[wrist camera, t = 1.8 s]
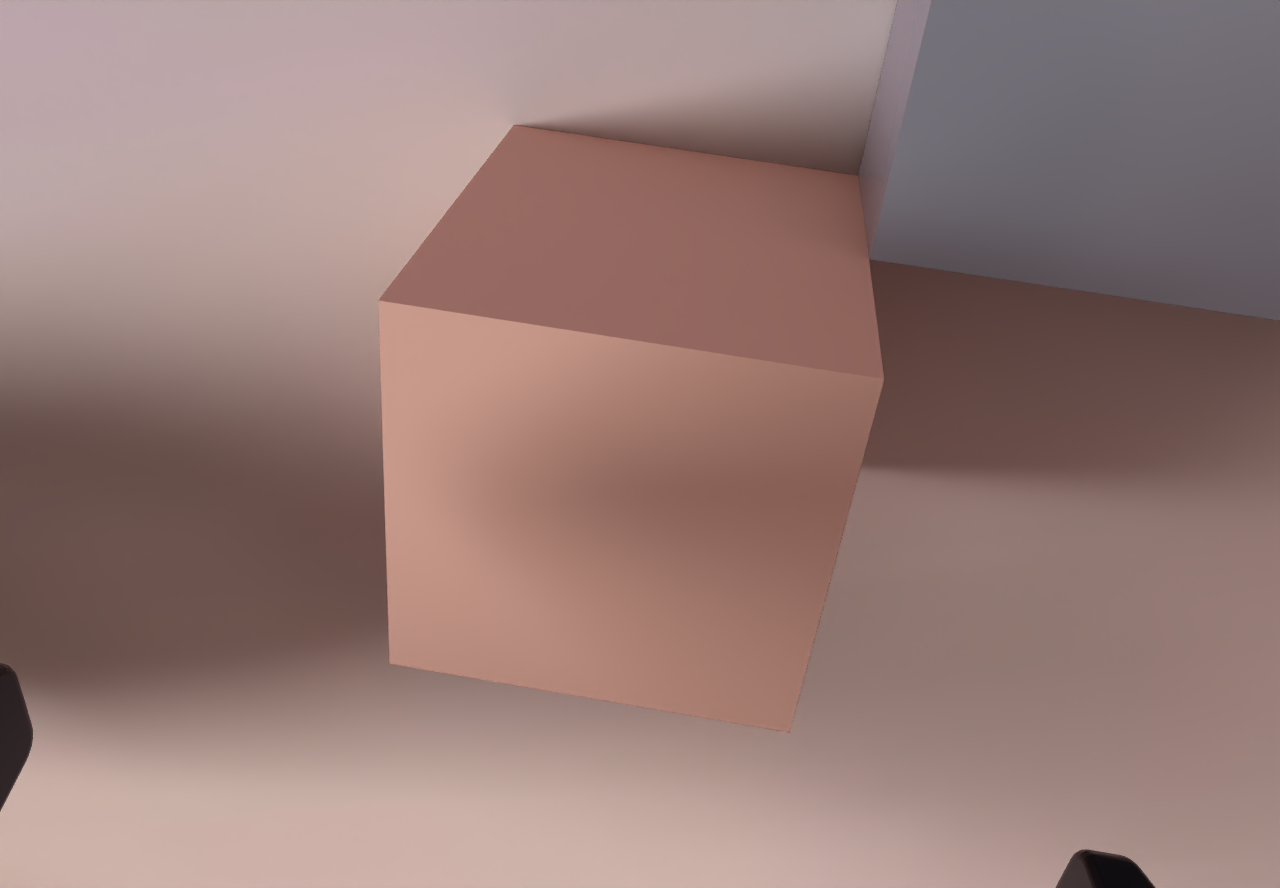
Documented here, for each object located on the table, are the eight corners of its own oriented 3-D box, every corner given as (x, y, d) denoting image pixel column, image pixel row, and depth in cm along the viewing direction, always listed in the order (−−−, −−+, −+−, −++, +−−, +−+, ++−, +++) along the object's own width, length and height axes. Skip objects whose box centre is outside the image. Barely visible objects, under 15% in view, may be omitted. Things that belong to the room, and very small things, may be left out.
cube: (793, 461, 18) (789, 732, 13) (502, 415, 18) (389, 663, 13) (858, 174, 15) (884, 379, 10) (514, 124, 16) (378, 299, 11)
